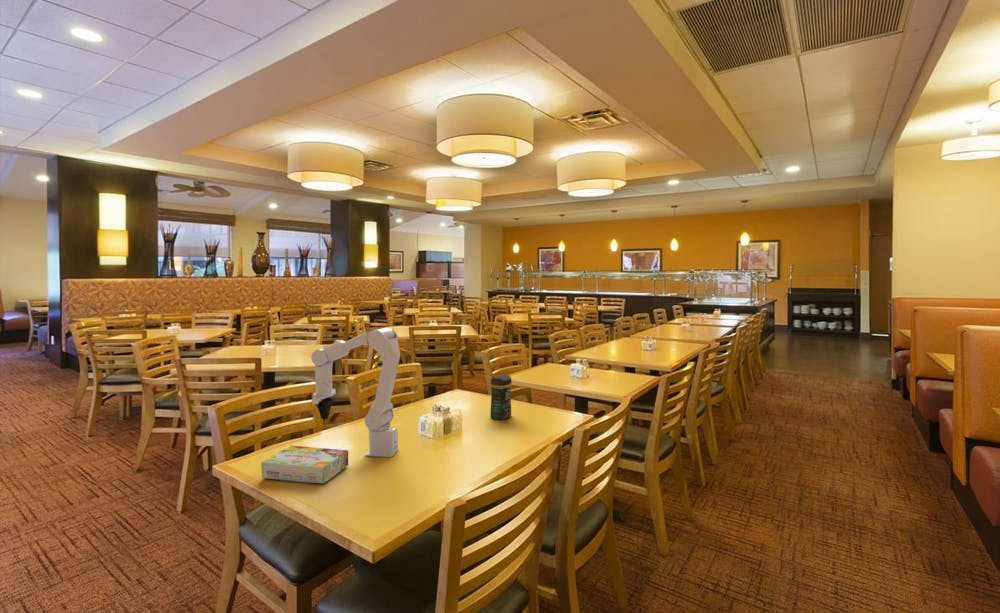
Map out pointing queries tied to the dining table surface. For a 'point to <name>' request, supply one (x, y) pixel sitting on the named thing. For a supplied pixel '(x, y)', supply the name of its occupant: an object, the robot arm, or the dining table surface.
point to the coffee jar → (501, 397)
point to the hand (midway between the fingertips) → (324, 418)
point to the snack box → (305, 464)
